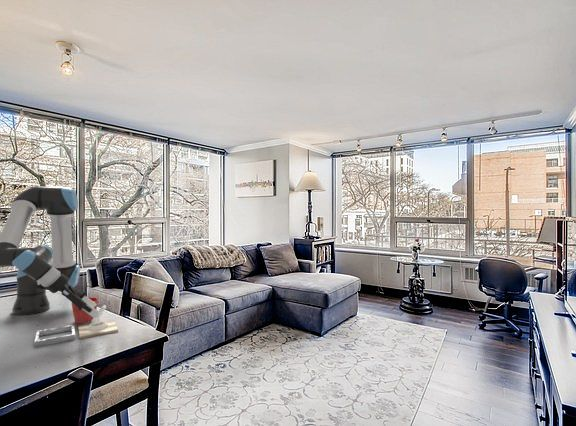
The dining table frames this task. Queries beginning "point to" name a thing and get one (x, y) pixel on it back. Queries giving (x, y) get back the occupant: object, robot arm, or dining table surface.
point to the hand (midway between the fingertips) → (95, 310)
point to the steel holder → (54, 339)
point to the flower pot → (83, 313)
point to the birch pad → (88, 333)
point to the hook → (98, 321)
